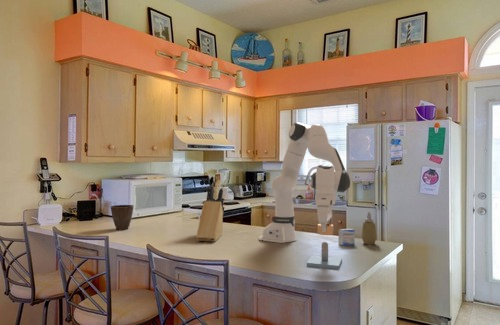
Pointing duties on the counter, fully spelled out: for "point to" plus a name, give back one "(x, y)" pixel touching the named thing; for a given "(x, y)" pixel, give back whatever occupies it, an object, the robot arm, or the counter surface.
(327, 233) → the copper ring
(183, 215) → the counter surface
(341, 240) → the medicine box
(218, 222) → the knife block
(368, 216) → the squeeze bottle
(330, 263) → the post base
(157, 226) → the counter surface
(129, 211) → the plant pot
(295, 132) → the robot arm
